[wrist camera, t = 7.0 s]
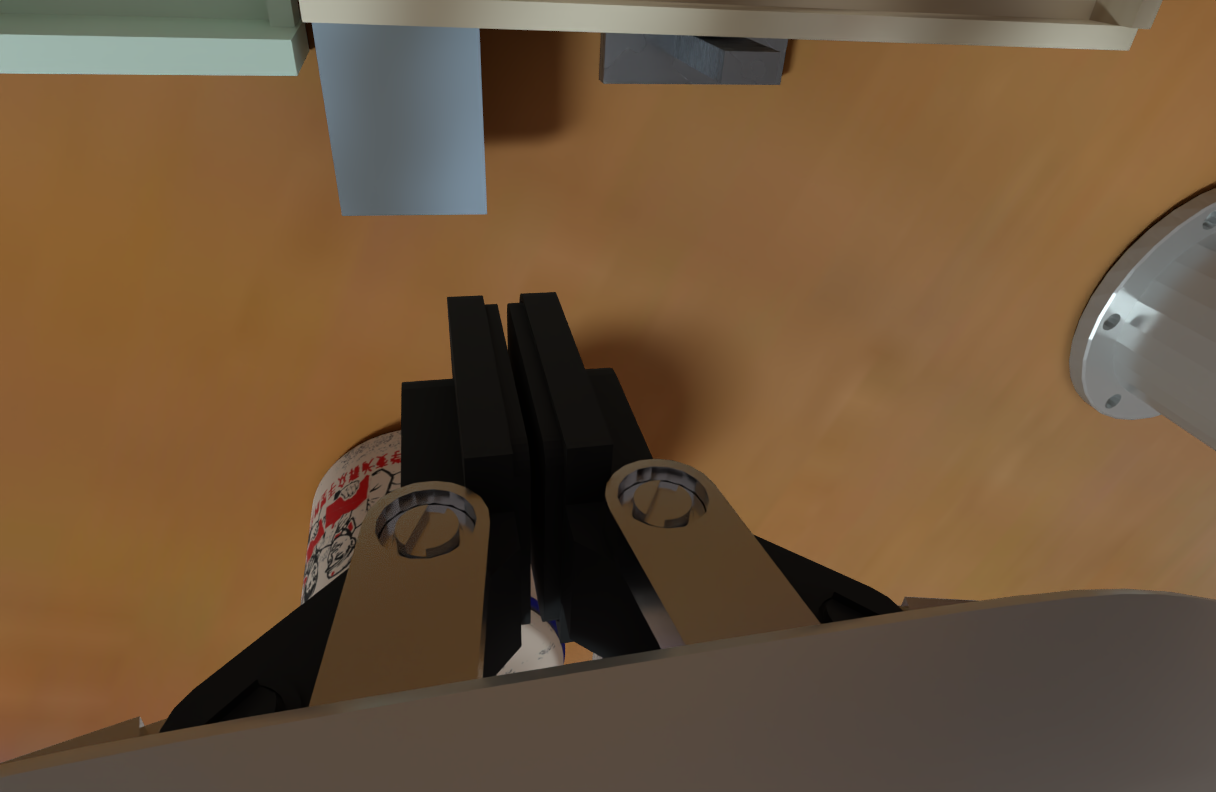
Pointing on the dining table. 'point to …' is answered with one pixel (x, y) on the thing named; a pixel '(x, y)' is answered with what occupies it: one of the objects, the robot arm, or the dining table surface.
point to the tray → (152, 37)
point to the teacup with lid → (340, 520)
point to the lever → (610, 3)
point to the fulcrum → (690, 59)
